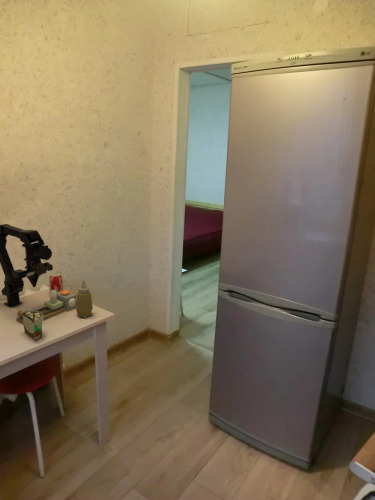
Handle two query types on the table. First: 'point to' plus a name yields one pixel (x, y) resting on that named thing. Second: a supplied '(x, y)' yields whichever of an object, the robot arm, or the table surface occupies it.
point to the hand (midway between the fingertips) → (34, 286)
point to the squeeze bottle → (84, 301)
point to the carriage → (53, 301)
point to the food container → (33, 324)
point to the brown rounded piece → (64, 292)
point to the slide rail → (45, 311)
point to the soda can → (56, 282)
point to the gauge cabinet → (67, 300)
